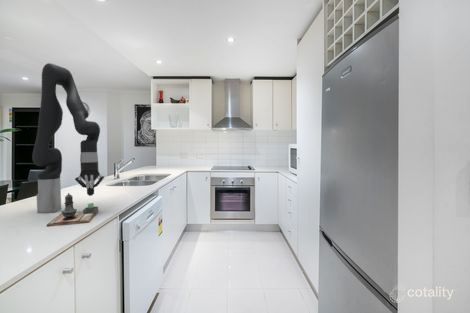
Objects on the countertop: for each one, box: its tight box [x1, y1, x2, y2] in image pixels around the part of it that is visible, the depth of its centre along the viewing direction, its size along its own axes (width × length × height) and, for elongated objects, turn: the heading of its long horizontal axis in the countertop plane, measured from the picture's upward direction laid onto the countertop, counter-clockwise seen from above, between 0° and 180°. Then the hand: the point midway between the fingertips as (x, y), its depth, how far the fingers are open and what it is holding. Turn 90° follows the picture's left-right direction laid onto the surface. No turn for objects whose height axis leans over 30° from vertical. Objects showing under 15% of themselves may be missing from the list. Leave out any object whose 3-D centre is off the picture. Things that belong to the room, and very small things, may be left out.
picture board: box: [46, 206, 99, 227], centre depth 111 cm, size 16×18×3 cm
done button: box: [87, 203, 95, 209], centre depth 117 cm, size 3×3×3 cm
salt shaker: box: [60, 192, 78, 220], centre depth 106 cm, size 6×6×12 cm
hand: (90, 195), depth 117 cm, fingers closed
